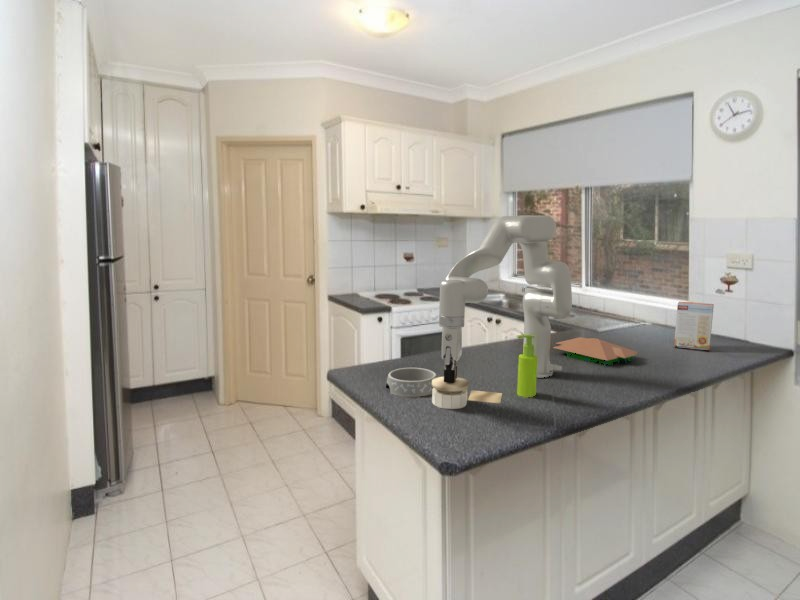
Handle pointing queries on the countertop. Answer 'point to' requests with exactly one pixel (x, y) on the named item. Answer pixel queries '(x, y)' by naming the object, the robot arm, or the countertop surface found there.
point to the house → (595, 349)
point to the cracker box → (693, 324)
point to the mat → (485, 396)
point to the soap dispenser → (527, 369)
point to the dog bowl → (411, 382)
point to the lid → (450, 384)
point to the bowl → (449, 399)
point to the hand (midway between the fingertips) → (450, 379)
